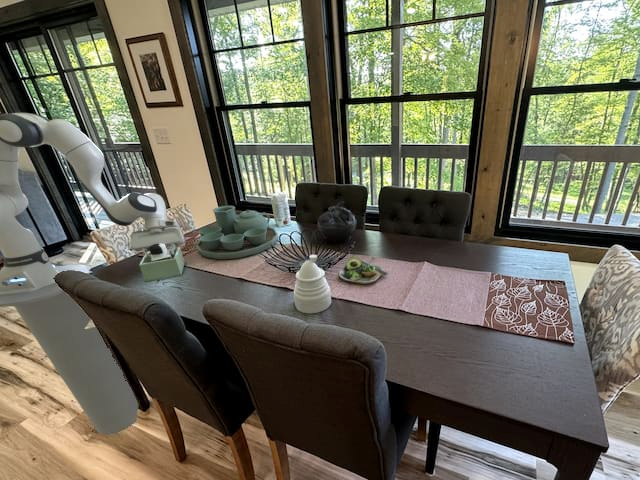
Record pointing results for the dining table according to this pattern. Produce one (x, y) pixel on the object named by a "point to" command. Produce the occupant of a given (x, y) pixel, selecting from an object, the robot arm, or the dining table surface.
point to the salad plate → (361, 272)
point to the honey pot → (311, 288)
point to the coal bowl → (337, 223)
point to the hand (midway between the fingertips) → (160, 256)
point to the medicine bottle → (159, 252)
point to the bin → (162, 266)
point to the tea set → (236, 234)
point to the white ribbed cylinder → (280, 209)
